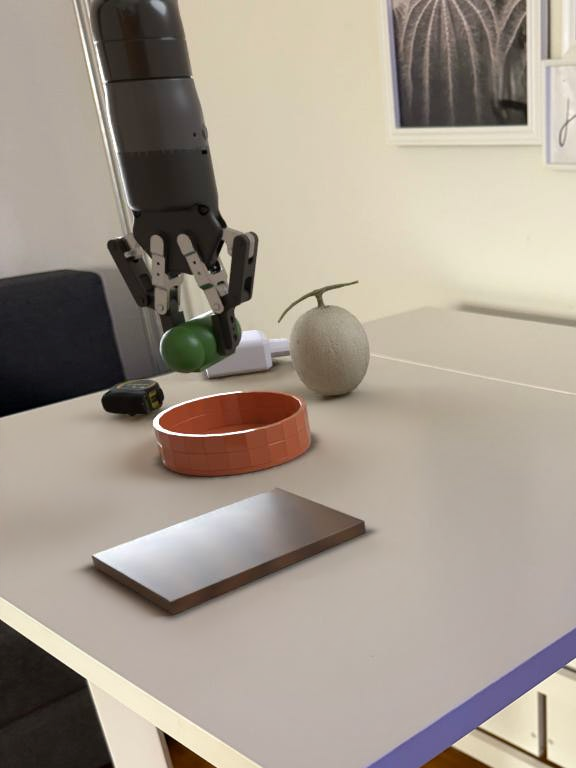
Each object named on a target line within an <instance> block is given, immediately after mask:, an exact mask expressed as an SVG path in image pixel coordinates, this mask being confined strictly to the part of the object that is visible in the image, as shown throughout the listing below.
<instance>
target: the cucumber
mask: <svg viewBox="0 0 576 768" xmlns="http://www.w3.org/2000/svg"><path fill="white" fill-rule="evenodd" d="M212 314H214V312H213V311H212V309H211V310H209V311H207V312H205V313H202V314H200V315H198V316H195V317H194V318H191V319H188V320H186V321H185V323H182V324H180V325H178V326H176V327H174V328H171V329H170V330H168V331H167V332H166V333H165V334H164V333H163V335H162V337H161V339H160V343H159V353H160V356H161V359H162V361H163V362H164V364H165V365H166V366H167V367H168V368H169V369H171V370H172V371H175V372H176V373H180V374H191V373H197V374H198V373H199V374H200V373H202V372H204V371H206V369H207V368H209V367H211V366H213V365H215V364H216V363H218V362H220V361H222V360H224V359H225V358H227V357H229V356H231V355H232V354H231V355H229V356H220V355H219V354H218V349H217V344H216V339H215V335H214V330H213V325H212V320H211V315H212ZM235 319H236V325H237V330H238V335H239V343H240V341H241V337H242V332H243V331H242V326H241V323H240V321H239V320H238V318H237V316H235ZM234 353H235V352H234ZM234 353H233V354H234Z"/></svg>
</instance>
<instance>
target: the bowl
mask: <svg viewBox="0 0 576 768" xmlns="http://www.w3.org/2000/svg"><path fill="white" fill-rule="evenodd" d="M152 423H153V424H152V426H153V430H154V434H155V439H156V442H157V447H158V452H159V455H160V459H161V461H162V464H163V465H164V466H165V467H166V468H167V469H168V470H170V471H172V472H175V473H179V474H183V475H188V476H197V477H198V476H199V477H200V476H201V477H219V476H220V477H223V476H233V475H241V474H247V473H253V472H257V471H261V470H267V469H269V468H274V467H276V466H279V465H282V464H285V463H287V462H288V463H289V462H290V461H292V460H294V459H296V458H298V457H300V456H302V455H303V454H304V453H305V452H306V451H308V450H309V448H310V446H311V444H312V434H311V433H312V432H311V428H310V427H311V426H310V421H309V415H308V408H307V404H306V401H305V399H304V398H303V397H300V396H299V395H297V394H293V393H288V392H285V391H275V390H241V391H232V392H224V393H216V394H212V395H206V396H201V397H197V398H194V399H190V400H187V401H184V402H181V403H179V404H176V405H173V406H171V407H168V408H167V409H164V410H163V411H161V412H160V413H158V414H157V415H156V417H154V419H153V421H152Z"/></svg>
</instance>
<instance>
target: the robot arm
mask: <svg viewBox="0 0 576 768" xmlns="http://www.w3.org/2000/svg"><path fill="white" fill-rule="evenodd" d="M89 23H90V29H91V34H92V40H93V44H94V49H95V53H96V54H95V55H96V58H97V62H98V66H99V71H100V75H101V79H102V82H103V90H104V94H105V107H106V114H107V118H108V126H109V128H110V129H109V130H110V133H111V138H112V141H113V146H114V151H115V154H116V155H115V156H116V159H117V163H118V168H119V173H120V176H121V181H122V185H123V189H124V194H125V198H126V202H127V205H128V207H129V208H130V210H131V212H132V215H133V216H132V217H133V221H132V225H131V226H132V228H131V232H129V233H127V234H126V235H122V236H119V237H115V238H112V239H108V241H107V243H106V248H107V251H108V252H109V254H110V256H111V258H112V260H113V262H114V264H115V266H116V267H117V269H118V271H119V273H120V275H121V276H122V279H123V281H124V283H125V285H126V286H127V288H128V290H129V292H130V294H131V296H132V298H133V300H134V301H135V303H136V305H137V306H138V307H140V308H148V309H152V310H153V311H155V312H156V313H157V314H158V315H159V319H160V323H161V328H162V332H163V335H164V334H165V333H166V332H167V331H168V330H170V329H171V328H174V327H176V326H178V325H180V324H182V323H185V322H186V318H185V313H184V310H183V309H179V308H180V307H181V292H182V291H181V290H182V287H181V286H182V284H183V283H184V278H185V277H184V276H185V275H184V274H186V275H189V276H193V278H194V280H195V283H196V284H197V286H198V288H199V289H201V290H202V291H203V293H204V295H205V297H206V300H207V302H208V305H209V307H210V309H211V310H212V311H213V312H214V314H212V315H211V320H212V325H213V330H214V335H215V339H216V344H217V349H218V354H219V355H220V356H229V355H231V354H233V353H234V352H235V351H236V347H237V346H238V345H239V335H238V330H237V325H236V319H235V317H236V315H235V310H236V308H237V307H239V306H240V305H242V304H244V303H246V302H248V301H251V300H252V298H253V293H254V284H255V275H256V267H257V259H258V258H257V257H258V248H259V236H258V234H257V233H256V232H255V231H247V232H243V231H240V230H237V229H234V228H231V227H228V224H227V222H226V220H225V219H224V217H223V216H222V214H221V211H220V208H219V192H218V187H217V181H216V177H215V170H214V164H213V159H212V155H211V149H210V144H209V132H208V128H207V126H206V122H205V116H204V112H203V111H204V110H203V107H202V104H201V100H200V98H199V94H198V90H197V88H196V83H195V79H194V78H193V77H194V74H193V69H192V64H191V59H190V52H189V47H188V41H187V38H186V32H185V28H184V24H183V19H182V17H181V11H180V6H179V1H178V0H92V1H91V2H90V5H89ZM225 244H226V247H227V248H226V249H227V254H228V255H229V257H231V260H230V270H229V276H228V272H227V270H226V268H225V266H224V263H223V261H222V258H221V256H220V254H221V252H222V249H223V247H224V245H225ZM144 252H145V254H146V255H147V256H148V257H149V258H150V259H151V272H150V270H149V268H148V266H147V264H146V262H145V260H144V258H143V253H144ZM228 278H229V279H228Z"/></svg>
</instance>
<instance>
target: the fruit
mask: <svg viewBox="0 0 576 768" xmlns="http://www.w3.org/2000/svg"><path fill="white" fill-rule="evenodd" d="M356 284H359V280H358V279H357V280H353V281H351V282H344V283H337V284H331V285H326V286H323V287H321V288H316V289H314V290H312V291H310V292H308V293H306V294H304V295H302V296H301V297H300V298H298V299H296V300H295V301H293V302H292V303H291V304H290V305H289V306H288V307H287V308H285V309H284V311H283V312H282V313H281V315H280V316H279V318H278V320H277V323H278V324H280V323H281V321H282V320H283V318H284V317H285V316H286V314H287V313H288V312H289V311H290V310H292V309H293V307H295V306H296V305H298V304H299V303H301V302H303V301H304V300H306V299H308V298H310V297H315V299H316V303H317V306H315V307H312V308H311V309H309V310H307V311H305V312H303V313H302V314H301V315H300V316H299V317H298V318H297V319H296V321H295V322H294V323H293V326H292V328H291V330H290V331H291V332H290V334H289V348H290V356H289V357H290V360H291V363H292V366H293V369H294V372H295V373H296V374H297V376H298V378H299V380H300V382H301V383H302V384H303V385H304V386H305V387H306V388H307V389H308V390H310V391H311V392H313V393H314V394H317V395H320V396H329V397H330V396H341V395H342V396H343V395H345V394H346V395H347V394H349V393H350V392H352V391H354V390H355V389H356V388H358V387H359V386H360V384H361V383H362V382H363V381H364V378H365V376H366V375H367V372H368V368H369V364H370V356H371V354H370V353H371V351H370V343H369V339H368V335H367V332H366V330H365V328H364V326H363V325H362V323H361V322H360V320H359V319H358V318H357V317H356V315H354V314H353V313H352V312H350V311H349V310H348V309H346V308H344V307H341V306H338V305H332V304H325V303H324V299H323V294H325V293H327V292H328V291H333V290H336V289H341V288H343V287H347V286H352V285H356Z"/></svg>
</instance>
